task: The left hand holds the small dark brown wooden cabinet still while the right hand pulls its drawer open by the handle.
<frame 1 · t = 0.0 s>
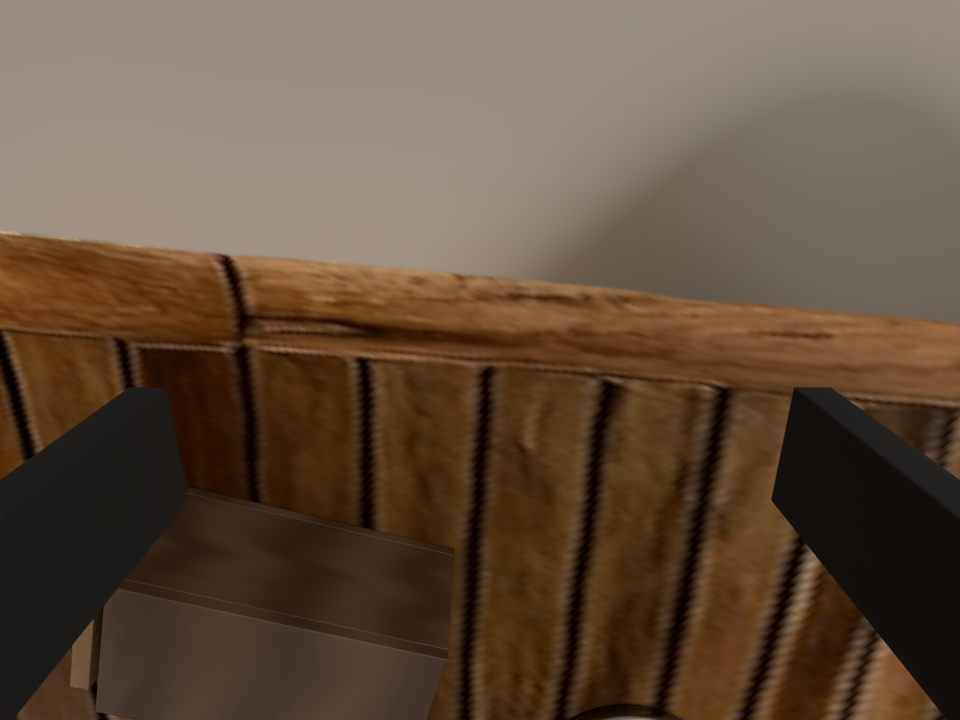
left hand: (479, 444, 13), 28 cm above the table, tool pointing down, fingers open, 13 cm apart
cabinet: (312, 571, 48), on the table
drawer: (214, 605, 43), point 5 cm above the table, slide at 1.0 cm
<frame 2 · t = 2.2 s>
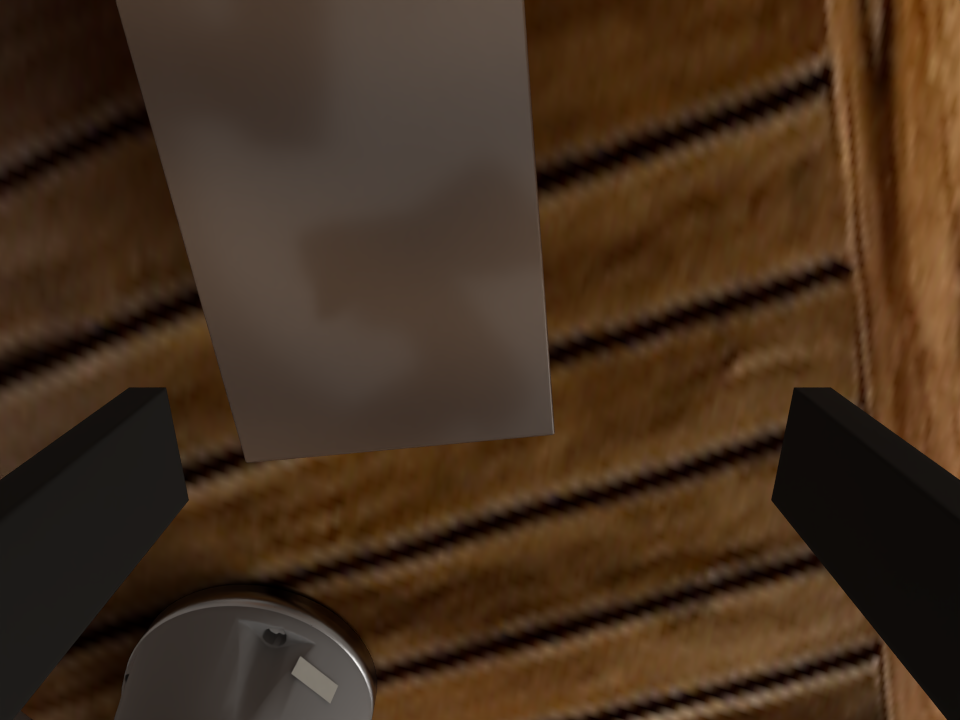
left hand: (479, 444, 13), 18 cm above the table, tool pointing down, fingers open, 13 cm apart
cabinet: (394, 124, 27), on the table
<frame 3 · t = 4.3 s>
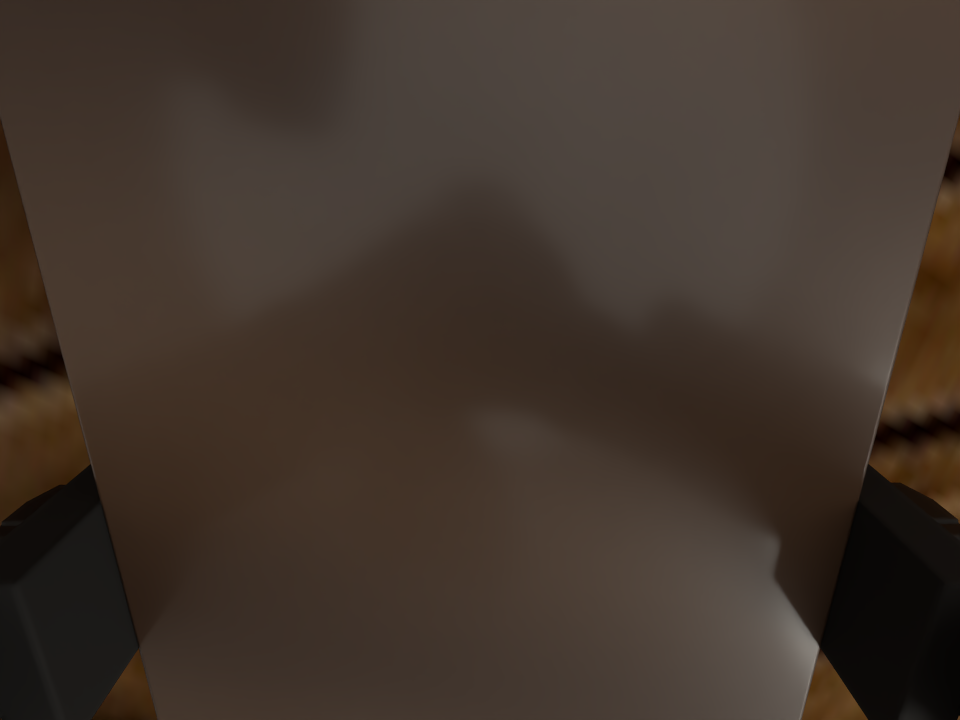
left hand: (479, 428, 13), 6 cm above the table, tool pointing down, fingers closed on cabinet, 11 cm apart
cabinet: (479, 105, 17), on the table, touching left hand
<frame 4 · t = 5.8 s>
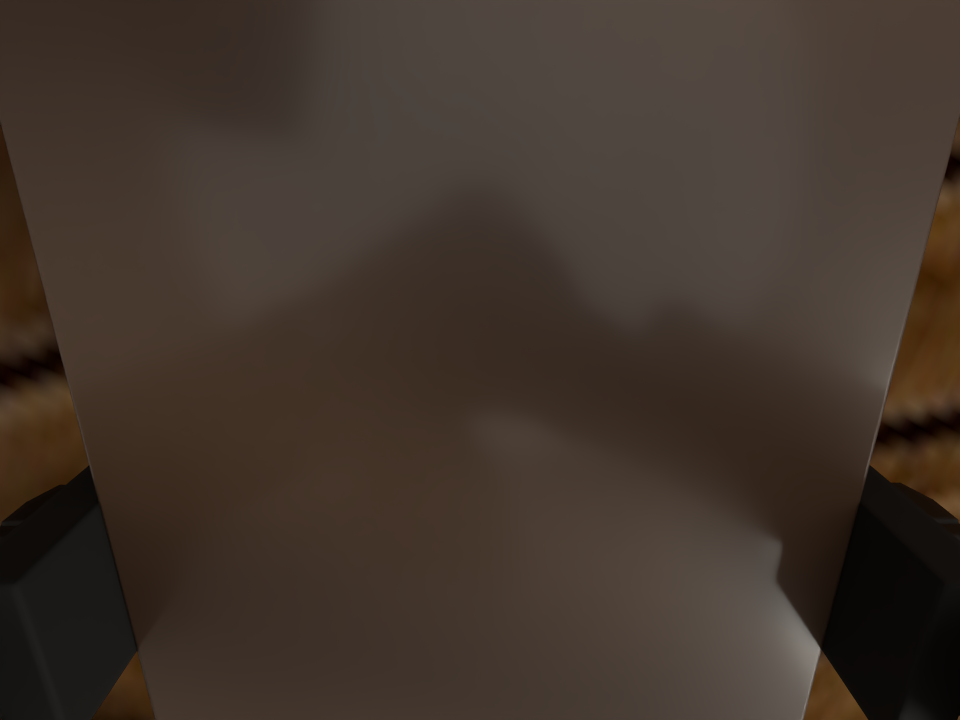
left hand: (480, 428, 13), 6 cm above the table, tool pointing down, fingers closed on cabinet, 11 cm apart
cabinet: (479, 107, 17), on the table, touching left hand
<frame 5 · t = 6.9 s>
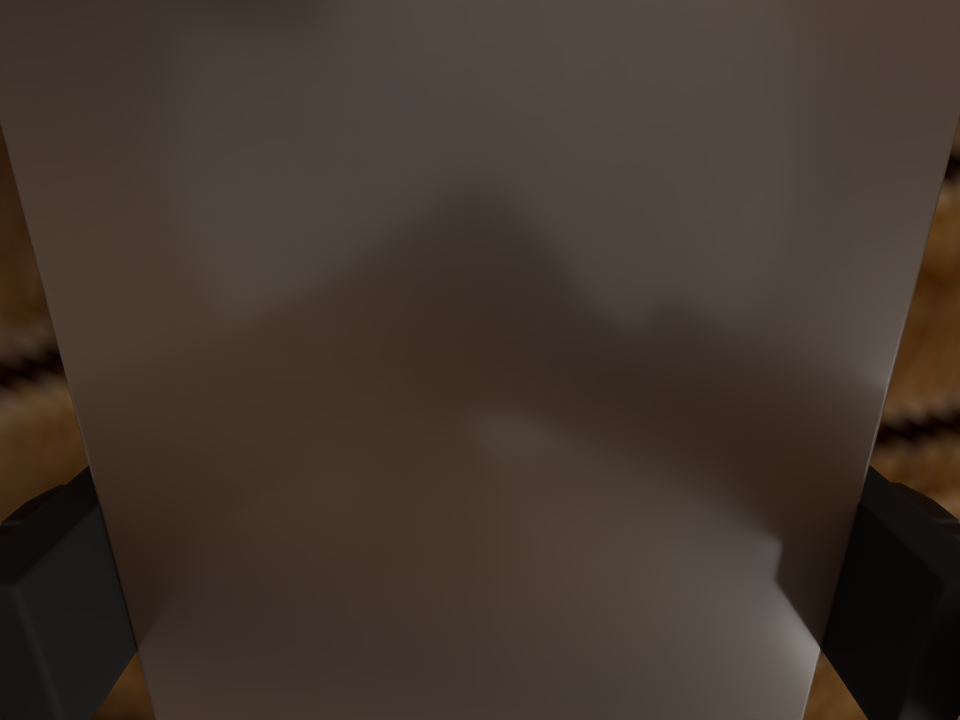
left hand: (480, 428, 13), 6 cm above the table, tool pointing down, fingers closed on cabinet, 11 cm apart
cabinet: (479, 107, 17), on the table, touching left hand
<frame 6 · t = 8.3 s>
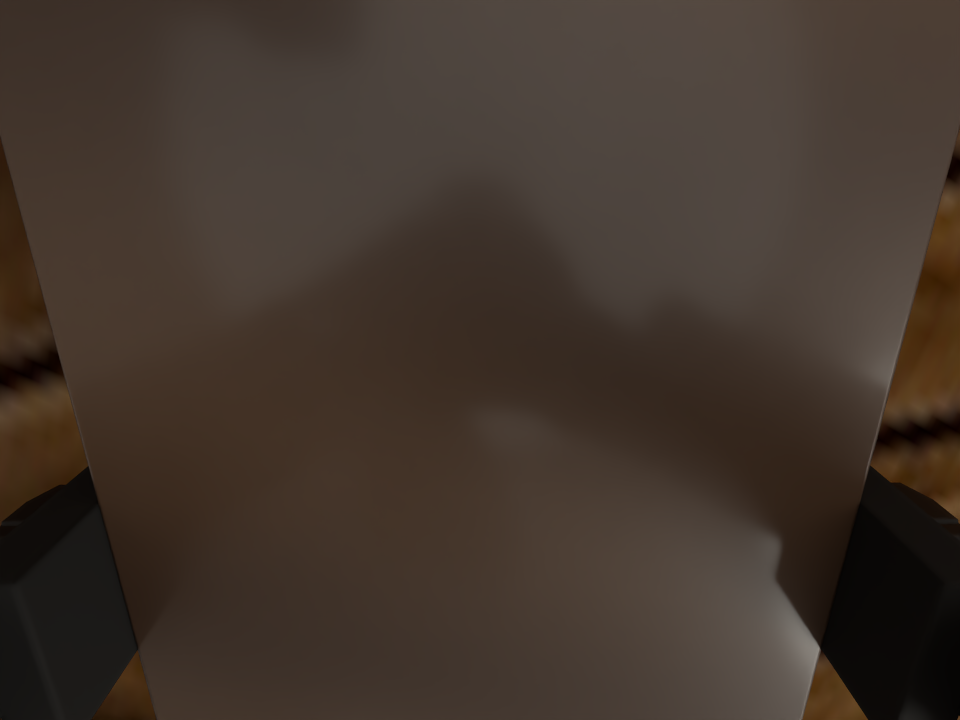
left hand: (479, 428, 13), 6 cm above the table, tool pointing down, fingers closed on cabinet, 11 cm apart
cabinet: (478, 104, 16), on the table, touching left hand
when the left hand's fingers open (6 cm above the table, at t = 8.7 s): cabinet stays where it is, on the table.
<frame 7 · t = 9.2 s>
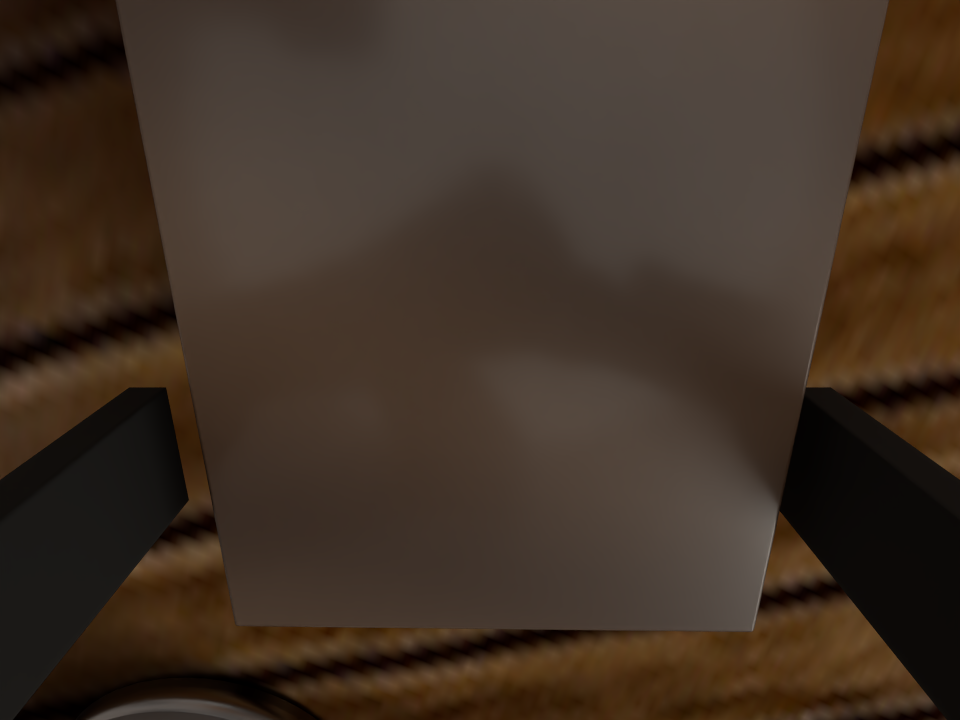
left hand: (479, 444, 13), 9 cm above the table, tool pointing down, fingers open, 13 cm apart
cabinet: (493, 98, 19), on the table
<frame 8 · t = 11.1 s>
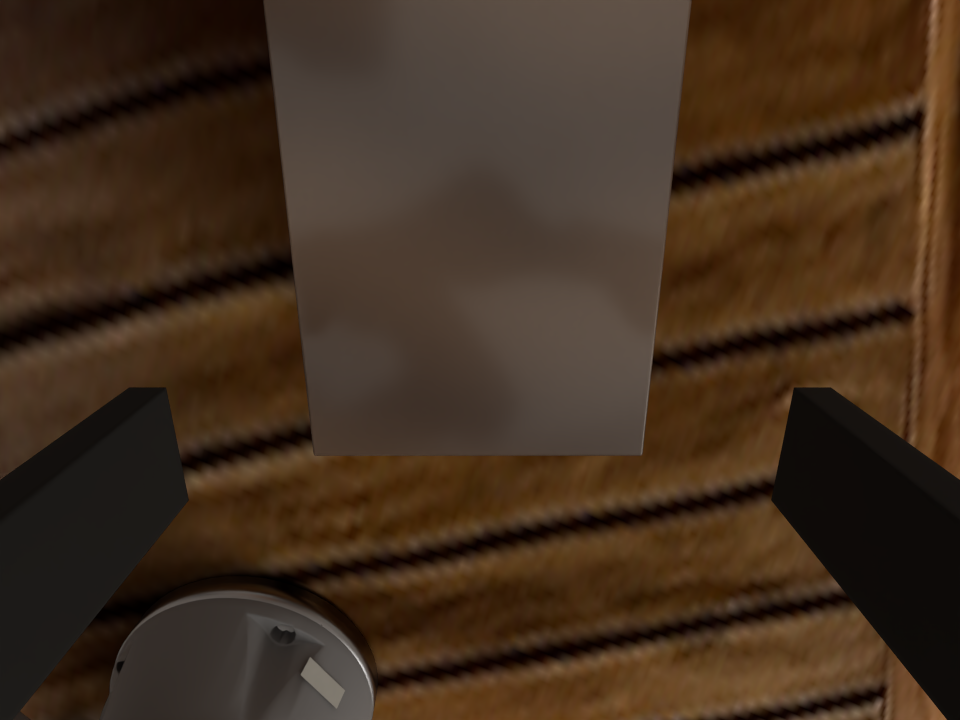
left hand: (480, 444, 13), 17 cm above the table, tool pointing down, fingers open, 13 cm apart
cabinet: (478, 116, 26), on the table
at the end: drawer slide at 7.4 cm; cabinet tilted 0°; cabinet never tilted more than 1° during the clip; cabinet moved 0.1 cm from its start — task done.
